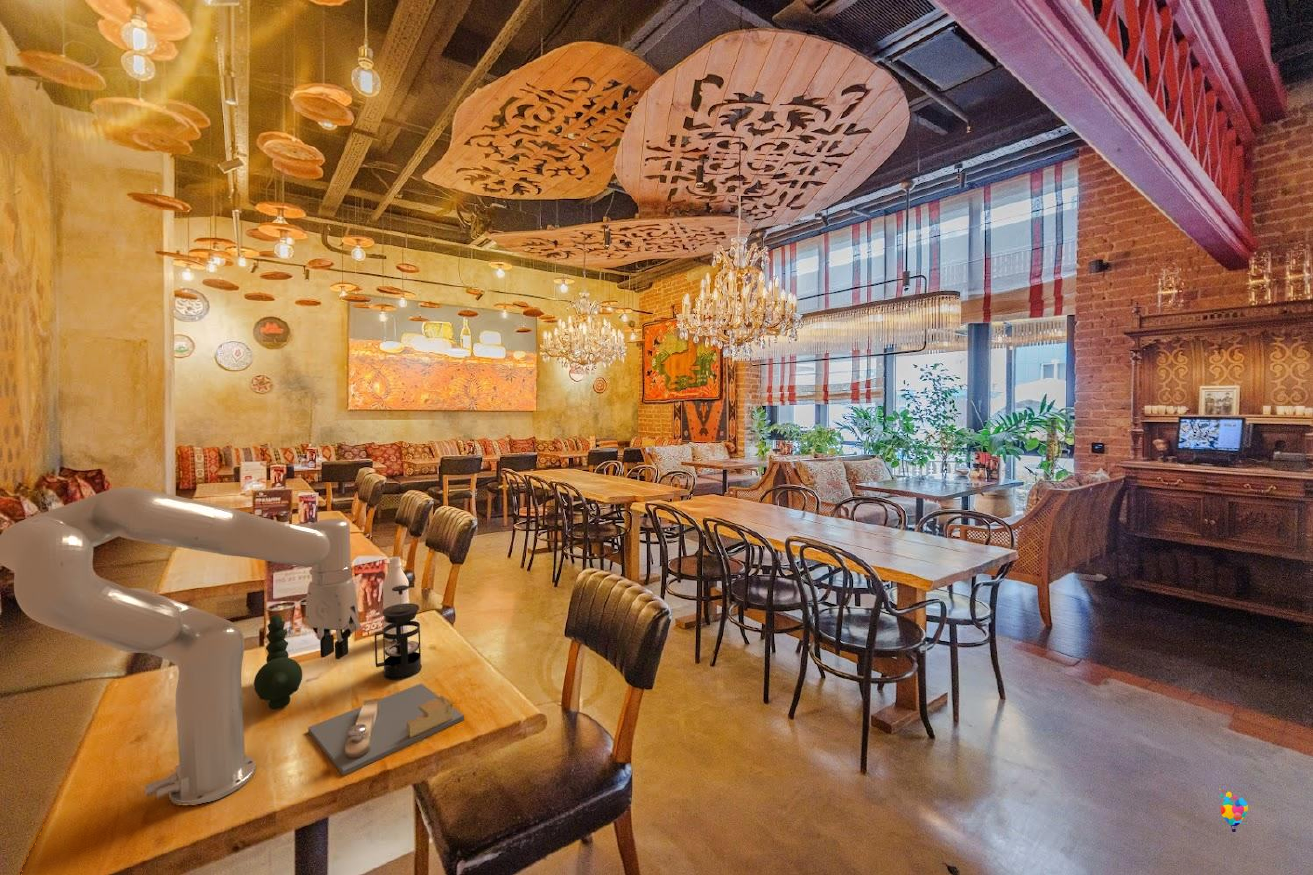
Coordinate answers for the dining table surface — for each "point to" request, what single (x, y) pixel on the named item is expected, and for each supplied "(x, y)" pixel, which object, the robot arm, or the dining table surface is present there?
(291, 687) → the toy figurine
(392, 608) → the french press
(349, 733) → the steel pin
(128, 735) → the dining table surface
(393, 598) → the water bottle
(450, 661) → the dining table surface
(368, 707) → the beech link
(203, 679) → the robot arm
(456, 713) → the charcoal board
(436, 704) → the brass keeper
